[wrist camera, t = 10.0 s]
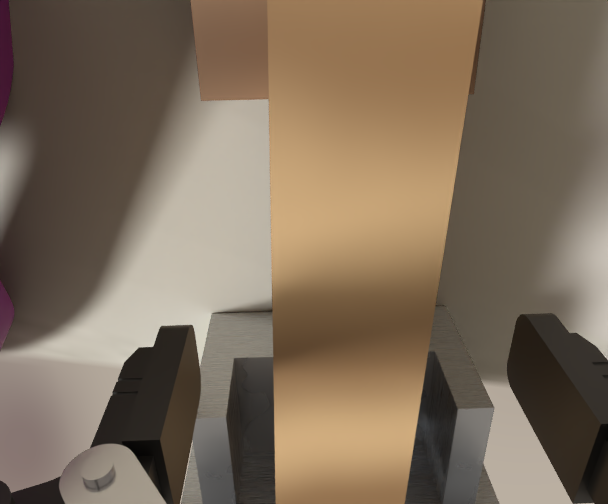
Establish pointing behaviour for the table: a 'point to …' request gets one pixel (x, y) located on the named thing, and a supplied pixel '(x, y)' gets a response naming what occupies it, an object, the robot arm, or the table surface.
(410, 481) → the bracket
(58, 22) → the table surface
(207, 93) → the rest block
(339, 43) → the rail
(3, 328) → the mounting bracket
